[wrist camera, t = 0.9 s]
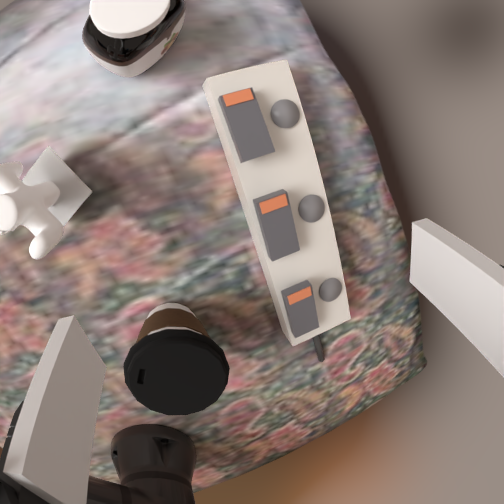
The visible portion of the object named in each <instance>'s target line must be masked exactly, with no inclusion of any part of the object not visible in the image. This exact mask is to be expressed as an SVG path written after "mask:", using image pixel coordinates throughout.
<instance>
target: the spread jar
mask: <svg viewBox="0 0 504 504" xmlns="http://www.w3.org/2000/svg"><path fill="white" fill-rule="evenodd" d="M89 9H90V15H89V17H88V19H87V21H86V23H85V26H84V28H83V35H82V39H83V42H84V45H85V47H86V49H87V50H88V52H89V53H90V54H91V56H92V57H93V58H94V59H95V60H96V61H97V62H98V63H99V64H100V65H101V66H103V67H104V68H105V69H107V70H108V71H110V72H112V73H114V74H116V75H119V76H122V77H134V76H137V75H139V74H141V73H143V72H144V71H146V70H147V69H149V68H150V67H151V66H153V65H154V64H155V63H156V62H158V61H159V60H160V59H161V58H162V57H163V55H164V54H165V53H166V52H167V51H168V49H169V48H170V47H171V45H172V44H173V42H174V41H175V39H176V38H177V36H178V34H179V32H180V30H181V28H182V25H183V22H184V18H185V13H186V4H185V1H184V0H91V2H90V7H89Z"/></svg>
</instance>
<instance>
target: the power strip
mask: <svg viewBox="0 0 504 504" xmlns="http://www.w3.org/2000/svg"><path fill="white" fill-rule="evenodd" d="M202 87H203V90H204V93H205V96H206V99H207V102H208V105H209V108H210V111H211V114H212V117H213V120H214V123H215V126H216V129H217V132H218V135H219V138H220V141H221V144H222V147H223V150H224V153H225V156H226V159H227V162H228V165H229V168H230V171H231V174H232V177H233V180H234V183H235V187H236V190H237V193H238V196H239V199H240V202H241V205H242V208H243V211H244V214H245V217H246V220H247V223H248V226H249V229H250V232H251V235H252V239H253V242H254V245H255V248H256V251H257V254H258V257H259V260H260V263H261V266H262V269H263V272H264V275H265V279H266V282H267V285H268V288H269V291H270V294H271V297H272V300H273V303H274V306H275V309H276V313H277V316H278V319H279V322H280V325H281V328H282V331H283V333H284V334H285V336H286V337H287V339H288V340H289V342H290V343H291V345H292V346H295V345H297V344H299V343H301V342H304V341H306V340H308V339H310V338H312V337H313V340H314V344H315V348H316V352H317V356H318V360H319V361H320V362H323V361H324V359H325V358H324V354H323V349H322V345H321V341H320V337H319V334H321V333H323V332H325V331H327V330H329V329H331V328H333V327H335V326H337V325H339V324H341V323H343V322H345V321H347V320H349V319H351V317H350V311H349V305H348V299H347V293H346V288H345V282H344V277H343V272H342V267H341V261H340V256H339V251H338V247H337V242H336V237H335V232H334V228H333V223H332V219H331V214H330V210H329V206H328V202H327V197H326V193H325V189H324V185H323V181H322V177H321V173H320V169H319V165H318V162H317V158H316V154H315V150H314V147H313V143H312V139H311V136H310V132H309V129H308V125H307V122H306V118H305V115H304V112H303V108H302V105H301V102H300V99H299V95H298V92H297V89H296V86H295V83H294V80H293V77H292V74H291V70H290V67H289V65H288V62H287V60H281V61H276V62H271V63H266V64H261V65H257V66H252V67H248V68H243V69H239V70H235V71H231V72H227V73H223V74H220V75H216V76H212V77H209V78H207V79H206V80H205V82H204V84H203V85H202ZM251 87H252V88H253V91H254V94H255V96H256V99H257V102H258V104H259V107H260V110H261V112H262V115H263V118H264V121H265V123H266V126H267V129H268V132H269V135H270V137H271V140H272V143H273V146H274V149H275V152H273V153H271V154H268V155H264V156H261V157H258V158H255V159H252V160H249V161H246V162H243V163H240V160H239V157H238V154H237V151H236V149H235V146H234V143H233V140H232V137H231V135H230V132H229V129H228V126H227V123H226V121H225V118H224V115H223V112H222V110H221V107H220V104H219V101H218V98H219V96H221V95H225V94H228V93H232V92H235V91H239V90H243V89H247V88H251ZM281 189H284V190H285V191H287V193H288V197H289V202H290V206H291V210H292V215H293V219H294V224H295V228H296V233H297V238H298V242H299V247H300V250H299V251H297V252H295V253H292V254H290V255H287V256H285V257H282V258H280V259H278V260H275V261H273V262H272V261H271V260H270V258H269V257H268V254H267V250H266V247H265V243H264V240H263V236H262V232H261V229H260V225H259V222H258V218H257V215H256V211H255V207H254V204H253V199H256V198H258V197H261V196H264V195H267V194H270V193H272V192H275V191H278V190H281ZM305 280H308V281H309V282H310V283H311V284H312V289H313V294H314V300H315V305H316V311H317V316H318V322H319V328H317V329H314V330H312V331H310V332H308V333H306V334H304V335H301V336H299V337H297V338H295V337H294V336H293V334H292V332H291V329H290V325H289V321H288V317H287V313H286V309H285V306H284V302H283V298H282V294H281V291H282V290H284V289H286V288H289V287H291V286H293V285H296V284H298V283H300V282H302V281H305Z"/></svg>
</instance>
